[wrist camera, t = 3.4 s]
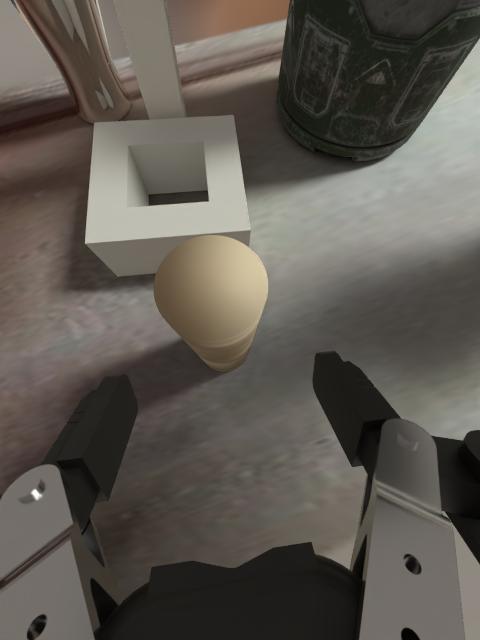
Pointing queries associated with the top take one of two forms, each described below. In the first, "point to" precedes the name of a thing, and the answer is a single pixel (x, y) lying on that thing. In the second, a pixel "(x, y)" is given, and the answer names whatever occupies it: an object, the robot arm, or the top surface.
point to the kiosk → (160, 160)
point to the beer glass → (79, 55)
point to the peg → (213, 297)
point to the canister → (369, 69)
